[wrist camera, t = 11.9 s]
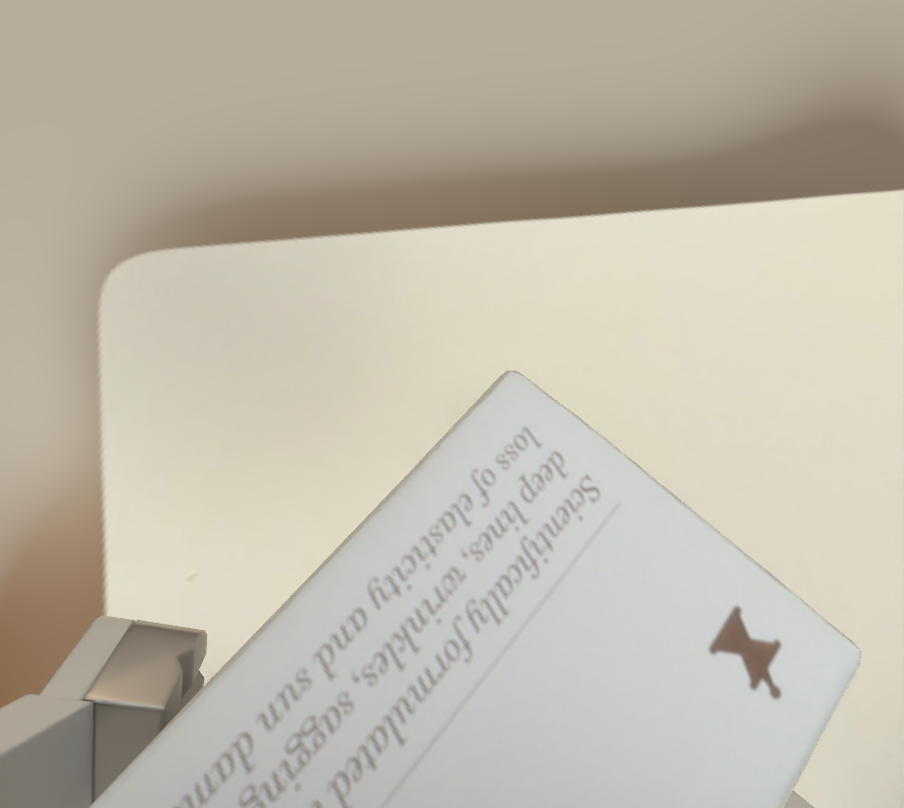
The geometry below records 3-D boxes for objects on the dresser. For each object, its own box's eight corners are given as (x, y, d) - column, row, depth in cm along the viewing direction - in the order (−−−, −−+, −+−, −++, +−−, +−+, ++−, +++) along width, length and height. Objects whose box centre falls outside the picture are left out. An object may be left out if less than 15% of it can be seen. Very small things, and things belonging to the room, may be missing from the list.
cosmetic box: (402, 564, 18) (507, 311, 7) (536, 689, 17) (900, 629, 6) (213, 772, 15) (-106, 903, 4) (361, 929, 14) (438, 1581, 3)
